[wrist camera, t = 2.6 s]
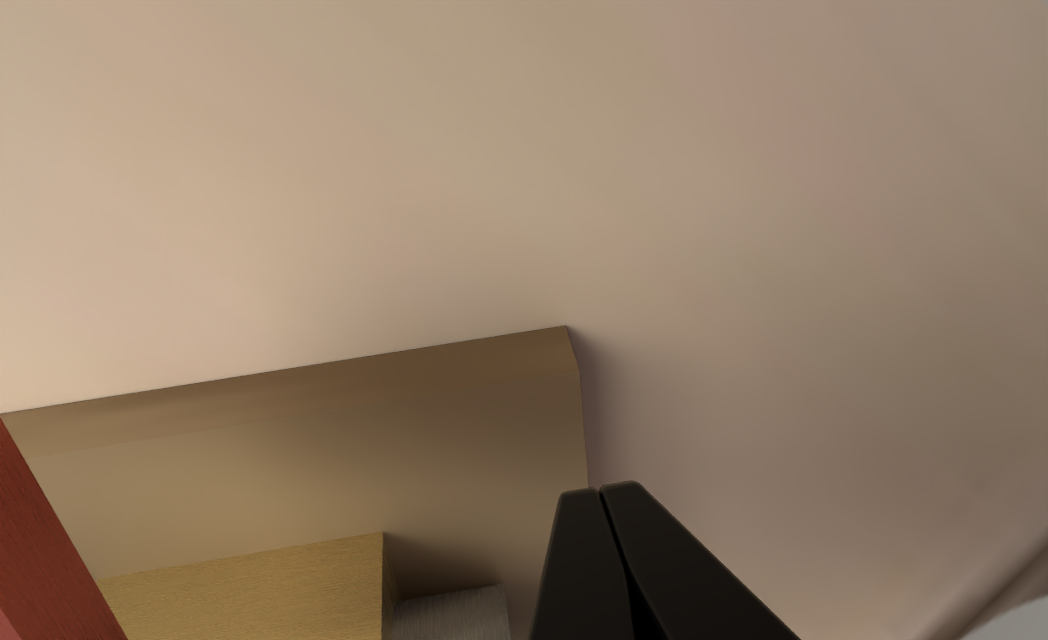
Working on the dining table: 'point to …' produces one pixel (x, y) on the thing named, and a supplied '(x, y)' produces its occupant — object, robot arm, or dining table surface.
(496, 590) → the ball valve
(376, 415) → the valve board
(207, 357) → the dining table surface
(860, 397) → the dining table surface
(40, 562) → the valve lever
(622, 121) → the dining table surface
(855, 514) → the dining table surface
